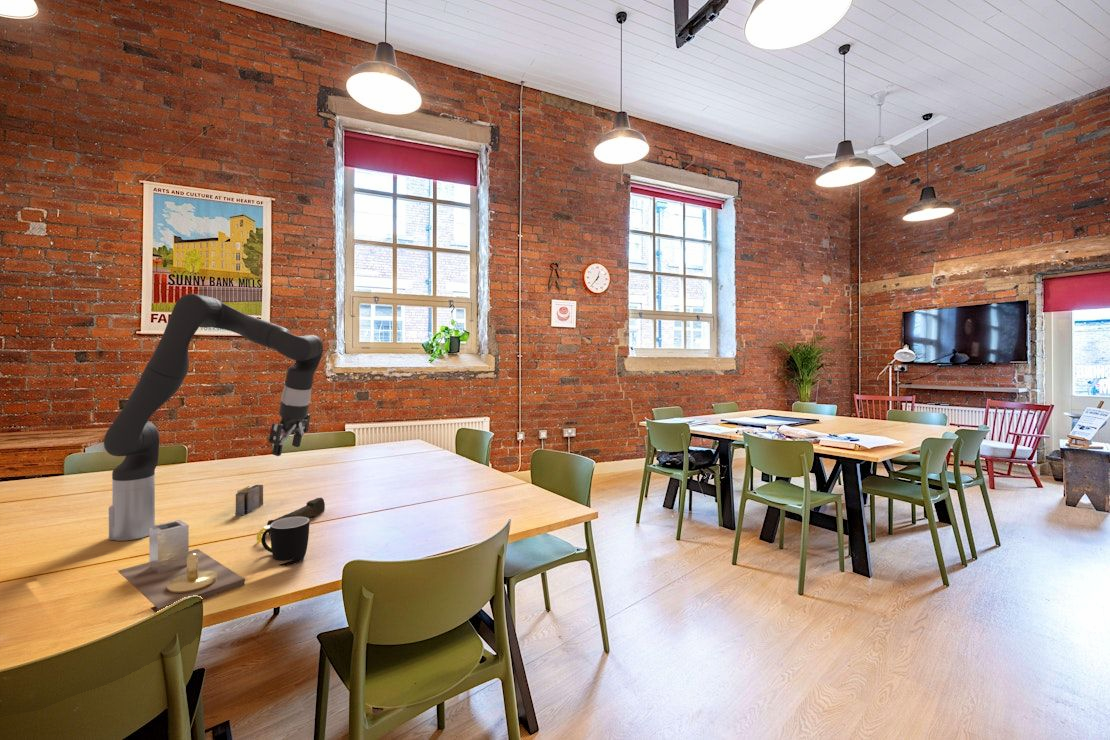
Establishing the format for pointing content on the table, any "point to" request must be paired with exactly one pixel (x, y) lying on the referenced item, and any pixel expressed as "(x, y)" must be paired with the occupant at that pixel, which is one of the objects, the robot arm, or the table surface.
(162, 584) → the walnut stand board
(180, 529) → the open-top grey box
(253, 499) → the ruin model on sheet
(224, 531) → the table surface
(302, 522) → the mug
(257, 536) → the watch
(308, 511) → the hand tool
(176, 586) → the disc
